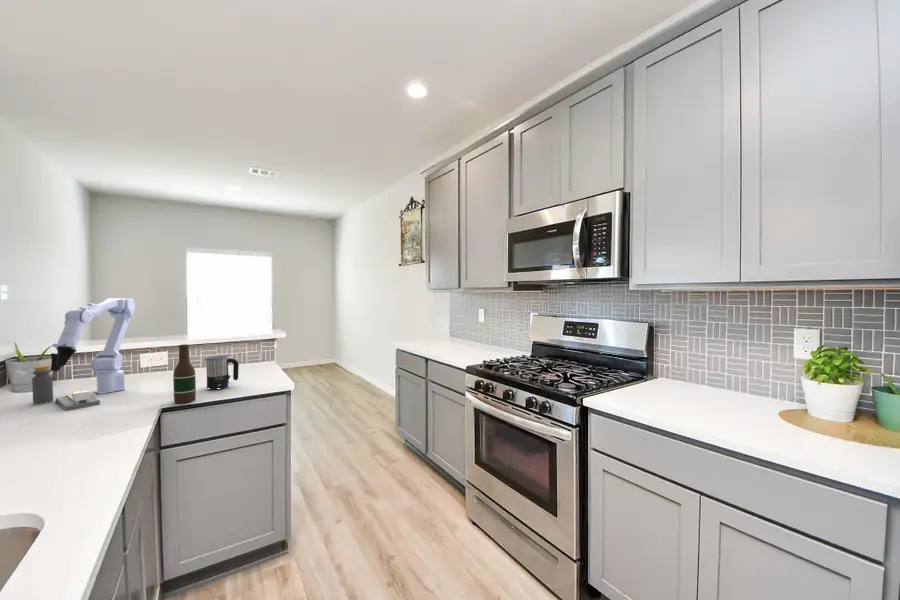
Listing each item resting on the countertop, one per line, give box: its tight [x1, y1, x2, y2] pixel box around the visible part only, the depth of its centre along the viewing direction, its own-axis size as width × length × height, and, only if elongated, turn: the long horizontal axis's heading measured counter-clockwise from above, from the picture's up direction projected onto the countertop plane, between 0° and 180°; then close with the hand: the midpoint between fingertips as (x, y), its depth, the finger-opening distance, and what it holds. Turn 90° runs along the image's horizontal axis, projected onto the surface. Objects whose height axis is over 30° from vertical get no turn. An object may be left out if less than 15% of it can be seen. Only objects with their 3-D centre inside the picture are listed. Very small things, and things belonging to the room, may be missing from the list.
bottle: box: [31, 364, 54, 405], centre depth 163 cm, size 6×6×15 cm
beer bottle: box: [172, 344, 197, 405], centre depth 165 cm, size 8×8×24 cm
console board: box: [55, 393, 101, 411], centre depth 163 cm, size 10×19×2 cm, turn 54°
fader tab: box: [71, 389, 91, 402], centre depth 159 cm, size 4×4×4 cm
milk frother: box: [204, 355, 240, 389], centre depth 191 cm, size 14×16×15 cm
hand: (56, 368), depth 153 cm, fingers open, 7 cm apart
